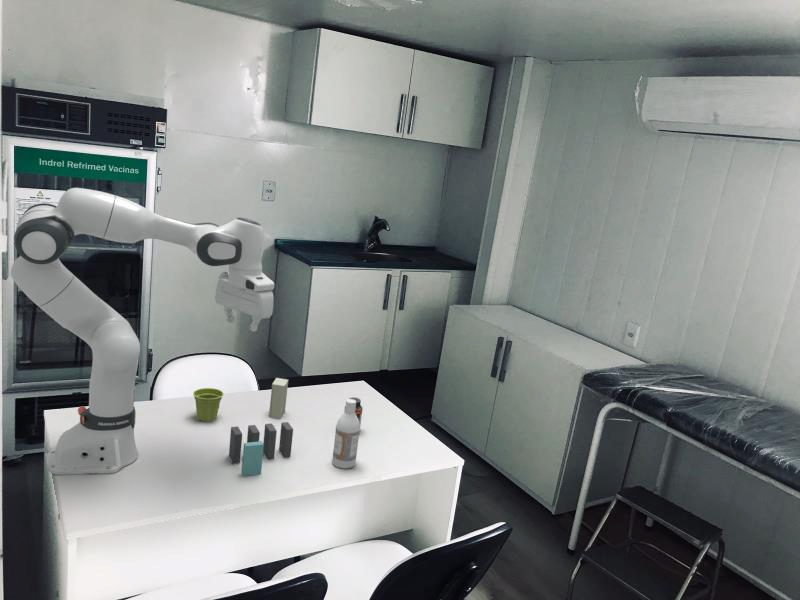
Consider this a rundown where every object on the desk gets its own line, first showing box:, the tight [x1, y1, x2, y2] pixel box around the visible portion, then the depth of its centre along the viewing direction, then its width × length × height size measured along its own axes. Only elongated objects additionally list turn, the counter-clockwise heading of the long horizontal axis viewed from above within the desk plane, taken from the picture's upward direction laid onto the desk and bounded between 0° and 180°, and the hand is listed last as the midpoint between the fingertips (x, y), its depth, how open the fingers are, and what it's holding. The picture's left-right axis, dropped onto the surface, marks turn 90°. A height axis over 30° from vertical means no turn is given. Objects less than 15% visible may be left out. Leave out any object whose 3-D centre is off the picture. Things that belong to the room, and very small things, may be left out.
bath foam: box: [331, 398, 361, 470], centre depth 185 cm, size 7×7×20 cm
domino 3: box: [241, 440, 264, 477], centre depth 174 cm, size 2×5×9 cm, turn 118°
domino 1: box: [228, 426, 243, 464], centre depth 180 cm, size 2×5×9 cm, turn 28°
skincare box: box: [268, 377, 289, 420], centre depth 213 cm, size 6×4×12 cm
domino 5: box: [278, 421, 294, 459], centre depth 187 cm, size 2×5×9 cm, turn 28°
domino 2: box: [246, 424, 260, 443], centre depth 182 cm, size 2×5×9 cm, turn 28°
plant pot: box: [192, 387, 224, 423], centre depth 204 cm, size 9×9×9 cm
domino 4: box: [262, 423, 278, 461], centre depth 185 cm, size 2×5×9 cm, turn 28°
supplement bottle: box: [343, 396, 363, 425], centre depth 208 cm, size 6×6×11 cm
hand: (241, 326), depth 175 cm, fingers open, 8 cm apart
